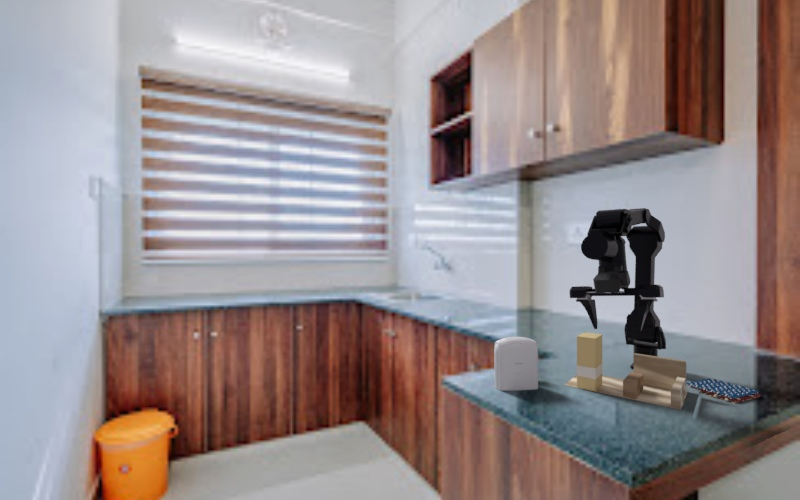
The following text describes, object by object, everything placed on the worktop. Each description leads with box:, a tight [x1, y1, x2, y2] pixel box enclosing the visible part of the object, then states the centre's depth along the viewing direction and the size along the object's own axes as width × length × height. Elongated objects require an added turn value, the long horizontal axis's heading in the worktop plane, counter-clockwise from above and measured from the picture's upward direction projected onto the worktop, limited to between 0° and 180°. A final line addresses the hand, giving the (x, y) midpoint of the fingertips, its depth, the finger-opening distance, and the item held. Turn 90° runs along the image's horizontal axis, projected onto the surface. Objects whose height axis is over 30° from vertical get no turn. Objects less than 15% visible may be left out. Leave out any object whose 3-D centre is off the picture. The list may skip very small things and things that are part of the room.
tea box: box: [576, 332, 604, 392], centre depth 94 cm, size 6×4×12 cm
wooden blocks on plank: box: [563, 353, 688, 411], centre depth 93 cm, size 14×23×8 cm, turn 50°
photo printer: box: [493, 336, 539, 392], centre depth 94 cm, size 10×4×12 cm, turn 96°
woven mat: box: [686, 378, 762, 404], centre depth 92 cm, size 10×11×2 cm
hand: (617, 329), depth 92 cm, fingers open, 9 cm apart
